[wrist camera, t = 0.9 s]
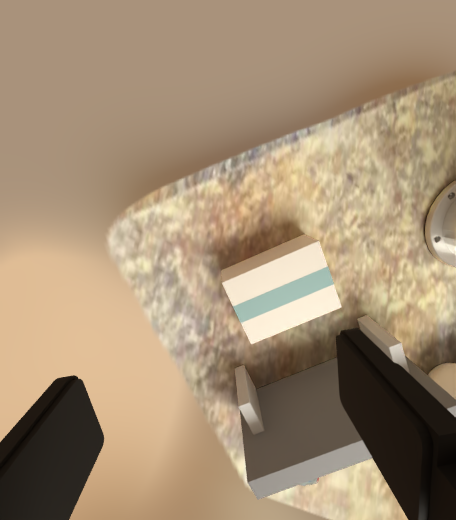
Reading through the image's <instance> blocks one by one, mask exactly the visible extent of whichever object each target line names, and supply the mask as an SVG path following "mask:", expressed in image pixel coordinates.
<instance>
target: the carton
mask: <svg viewBox="0 0 456 520" xmlns="http://www.w3.org/2000/svg"><path fill="white" fill-rule="evenodd" d="M221 278H222V284H223V287H224V289H225V291H226V293H227V295H228V297H229V299H230V301H231V303H232V305H233V308H234V310H235V312H236V314H237V316H238V318H239V320H240V322H241V324H242V326H243V328H244V330H245V332H246V335H247V337H248V339H249V341H250V343H251V344H253V343H256V342H258V341H261V340H263V339H266V338H268V337H270V336H273V335H275V334H278V333H280V332H283V331H285V330H288V329H290V328H292V327H295V326H297V325H300V324H302V323H305V322H307V321H309V320H312V319H314V318H317V317H319V316H322V315H324V314H327V313H329V312H331V311H334V310H336V309H339V308H341V304H340V301H339V298H338V295H337V292H336V289H335V286H334V283H333V280H332V277H331V274H330V271H329V268H328V266H327V263H326V260H325V257H324V254H323V251H322V249H321V246H320V243H319V241H318V240H316V239H314V238H311V237H309V236H307V235H305V234H303V235H301V236H299V237H296V238H294V239H292V240H290V241H287V242H285V243H283V244H280V245H278V246H276V247H273V248H271V249H269V250H267V251H264V252H262V253H260V254H257V255H255V256H253V257H250V258H248V259H246V260H244V261H241V262H239V263H237V264H234V265H232V266H230V267H228V268H225V269H223V270H221Z"/></svg>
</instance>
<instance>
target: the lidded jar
mask: <svg viewBox="0 0 456 520" xmlns="http://www.w3.org/2000/svg"><path fill="white" fill-rule="evenodd" d="M428 376H429V377H430V378H431V379H432V380H434V381H435V382H436V383H437V384H438V385H439V386H441V387H442V388H443V389H444V390H445V391H446V392H448V393H449V394H450V395H451V396H452V397H453V398H454V399H456V363H443V364H440V365H438V366H436V367H435V368H433V369H432V370H431V371H430V372H429V374H428Z"/></svg>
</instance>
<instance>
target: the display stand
mask: <svg viewBox="0 0 456 520" xmlns="http://www.w3.org/2000/svg"><path fill="white" fill-rule="evenodd" d="M357 321H358V324H359V327H360V330H361V331H362V332H363V333H364V334H365V335H366V336H367V337H368V338H369V339H370V340H371V341H372V342H374V343H375V344H376V345H377V346H378V347H379V348H380V349H381V350H382V351H383V352H384V353H385V354H386V355H387V356H388V357H389V358H390V359H391V360H392V361H393V362H394V363H397V364H399V365H400V366H402V367H403V368H404V369H405V370H406V371H407V372H408V373H409V374H410V375H411V376H413V377H414V378H415V379H416V380H417V381H418V382H419V383H420V384H421V385H422V386H423V387H424V388H425V389H426V390H427V391H428V392H429V393H430V394H432V395H433V396H434V397H435V398H436V399H437V400H438V401H439V402H440V403H441V404H442V405H443V406H444V407H445V408H446V409H447V410H448V411H449V412H451V413H452V414H453V415H454V416H455V417H456V399H454V398H453V397H452V396H451V395H450V394H449V393H448V392H446V391H445V390H444V389H443V388H442V387H441V386H439V385H438V384H437V383H436V382H435V381H434V380H432V379H431V378H430V377H429V376H428V375H427V374H426V373H424V372H423V371H422V370H421V369H420V368H419V367H417V366H416V365H415V364H414V363H413V362H412V361H410V360H409V359H408V358H407V357H406V356H405V355H404V351H403V348H402V344H401V342H400V341H398V340H397V339H396V338H395V337H393V336H392V335H391V334H390V333H388V332H387V331H386V330H385V329H384V328H382V327H381V326H380V325H379V324H377V323H376V322H375V321H374V320H372V319H371V318H370V317H369V316H368V315H365V316H363V317H360V318H358V319H357ZM235 377H236V387H237V397H238V407H239V409H240V415H241V425H242V434H243V443H244V453H245V462H246V472H247V481H248V484H249V486H250V487H251V489H252V491H253V492H254V494H255V496H256V498H257V499H261V498H264V497H267V496H269V495H272V494H275V493H278V492H280V491H283V490H286V489H289V488H291V487H294V486H297V485H300V484H302V483H305V482H308V481H311V480H313V479H316V478H319V477H322V476H324V475H327V474H330V473H333V472H335V471H338V470H341V469H344V468H346V467H349V466H352V465H355V464H357V463H360V462H363V461H366V460H368V459H371V458H372V456H371V454H370V453H369V451H368V449H367V447H366V446H365V444H364V442H363V441H362V439H361V437H360V435H359V434H358V432H357V430H356V429H355V427H354V425H353V423H352V422H351V420H350V418H349V416H348V415H347V413H346V411H345V410H344V408H343V406H342V403H341V401H340V396H339V381H338V364H337V358H334V359H332V360H329V361H326V362H324V363H321V364H319V365H316V366H314V367H311V368H309V369H306V370H304V371H301V372H299V373H296V374H294V375H291V376H289V377H286V378H284V379H281V380H278V381H276V382H273V383H271V384H268V385H266V386H263V387H261V388H258V389H256V388H255V386H254V384H253V382H252V380H251V378H250V376H249V374H248V372H247V370H246V368H245V366H244V365H242V366H239V367H237V368H235Z"/></svg>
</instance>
